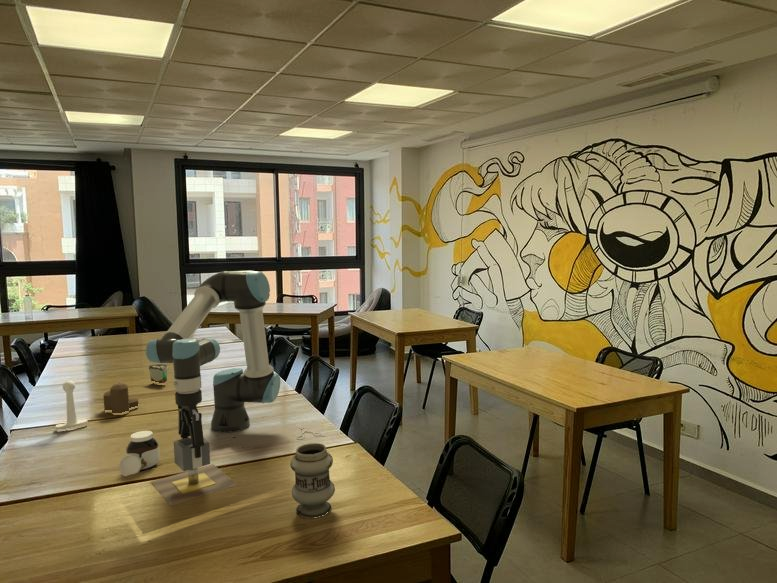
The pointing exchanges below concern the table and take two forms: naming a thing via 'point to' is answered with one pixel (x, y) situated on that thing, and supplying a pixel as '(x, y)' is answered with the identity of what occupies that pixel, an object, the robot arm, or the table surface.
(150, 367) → the food container
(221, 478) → the base plate
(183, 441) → the collar
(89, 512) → the table surface
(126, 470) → the spread jar
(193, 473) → the steel post
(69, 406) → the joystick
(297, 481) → the apothecary jar
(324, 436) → the scissors
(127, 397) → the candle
